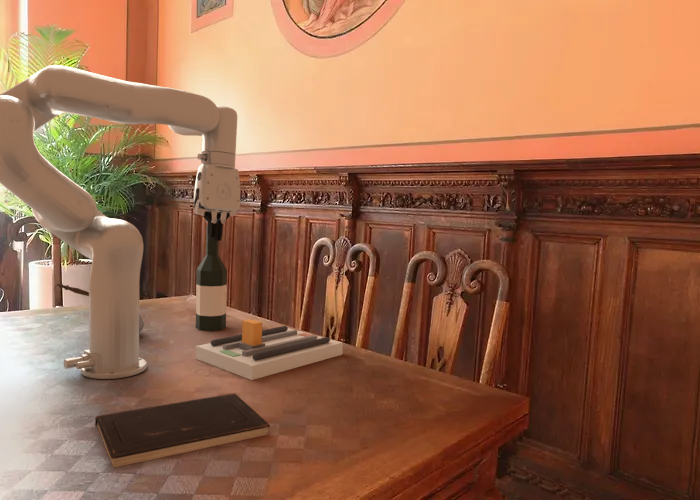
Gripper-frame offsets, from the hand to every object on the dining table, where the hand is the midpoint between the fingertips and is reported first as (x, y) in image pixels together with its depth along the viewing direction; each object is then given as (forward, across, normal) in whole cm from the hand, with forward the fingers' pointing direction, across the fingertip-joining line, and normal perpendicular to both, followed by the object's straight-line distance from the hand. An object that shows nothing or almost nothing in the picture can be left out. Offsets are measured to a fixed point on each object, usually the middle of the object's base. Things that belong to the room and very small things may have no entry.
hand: (214, 240), depth 125 cm
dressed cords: (+24, +10, -11) cm, 28 cm away
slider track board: (+27, +10, -11) cm, 30 cm away
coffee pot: (+28, -14, +28) cm, 42 cm away
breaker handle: (+24, +4, -11) cm, 26 cm away
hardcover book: (+29, -26, -34) cm, 52 cm away
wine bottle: (+27, +14, +22) cm, 38 cm away
